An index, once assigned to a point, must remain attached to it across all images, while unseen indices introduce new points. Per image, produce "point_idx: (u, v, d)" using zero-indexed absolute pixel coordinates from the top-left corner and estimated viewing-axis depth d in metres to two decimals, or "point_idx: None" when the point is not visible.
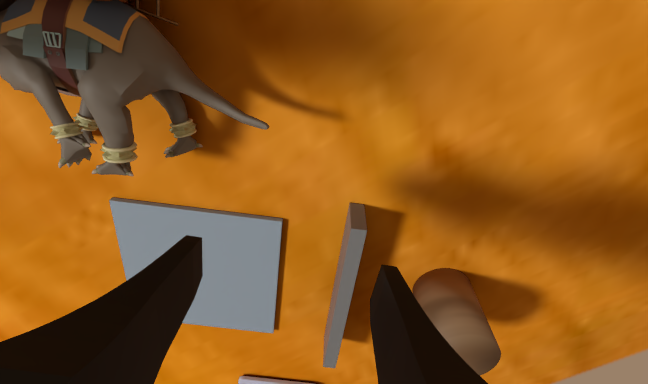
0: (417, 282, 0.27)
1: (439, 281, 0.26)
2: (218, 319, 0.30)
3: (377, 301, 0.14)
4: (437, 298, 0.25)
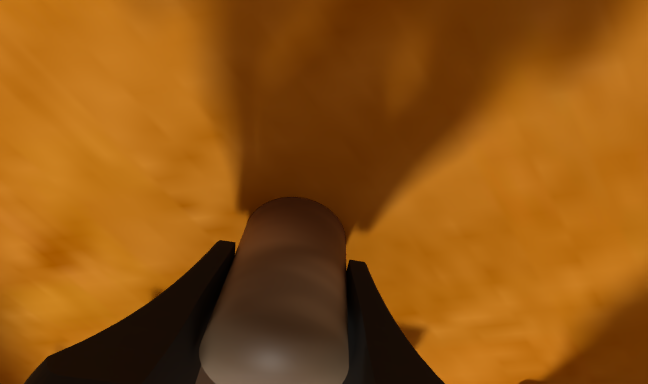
0: None
1: None
2: None
3: None
4: None
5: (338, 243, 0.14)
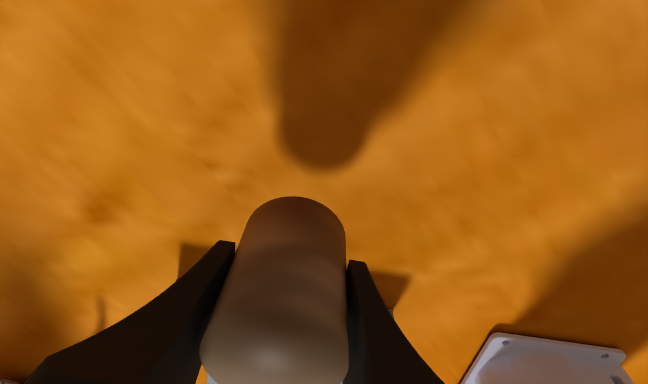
0: None
1: None
2: None
3: None
4: None
5: (338, 242, 0.14)
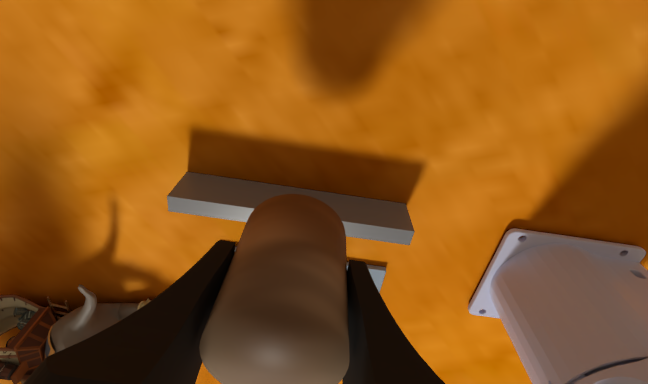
0: None
1: None
2: None
3: None
4: None
5: (338, 239, 0.14)
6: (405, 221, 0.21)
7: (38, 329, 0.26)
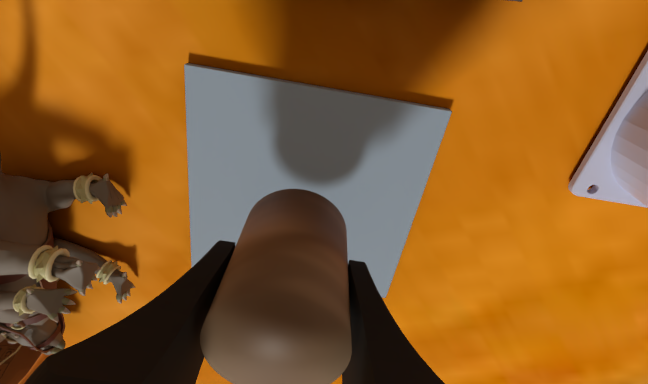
0: None
1: None
2: (401, 196, 0.18)
3: None
4: None
5: (339, 233, 0.14)
6: None
7: None
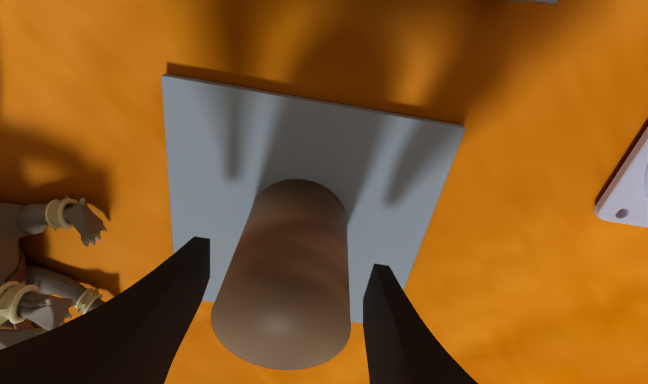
0: None
1: None
2: (408, 221, 0.16)
3: (369, 300, 0.14)
4: None
5: (340, 221, 0.14)
6: None
7: None
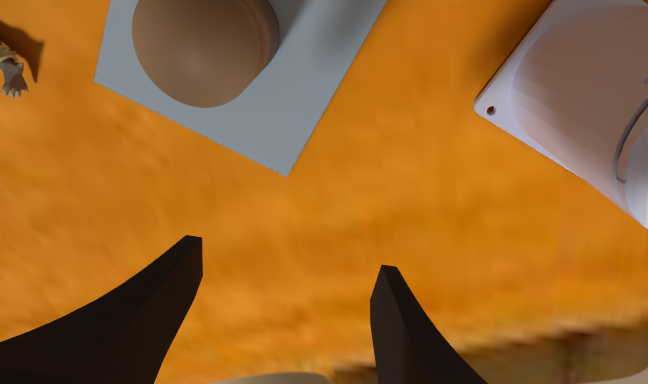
0: None
1: None
2: (329, 63, 0.19)
3: (377, 301, 0.14)
4: None
5: (272, 23, 0.16)
6: None
7: None
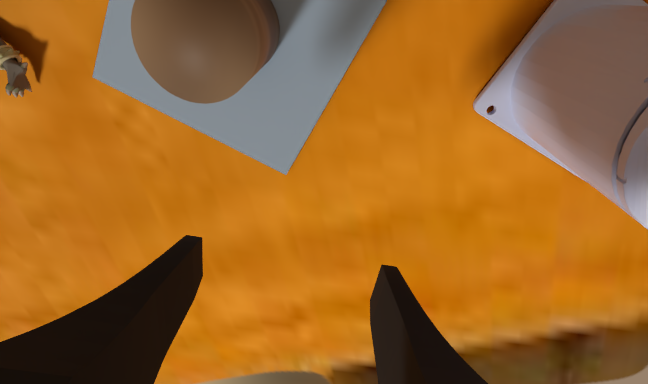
0: None
1: None
2: (330, 61, 0.19)
3: (377, 301, 0.14)
4: None
5: (272, 19, 0.16)
6: None
7: None
